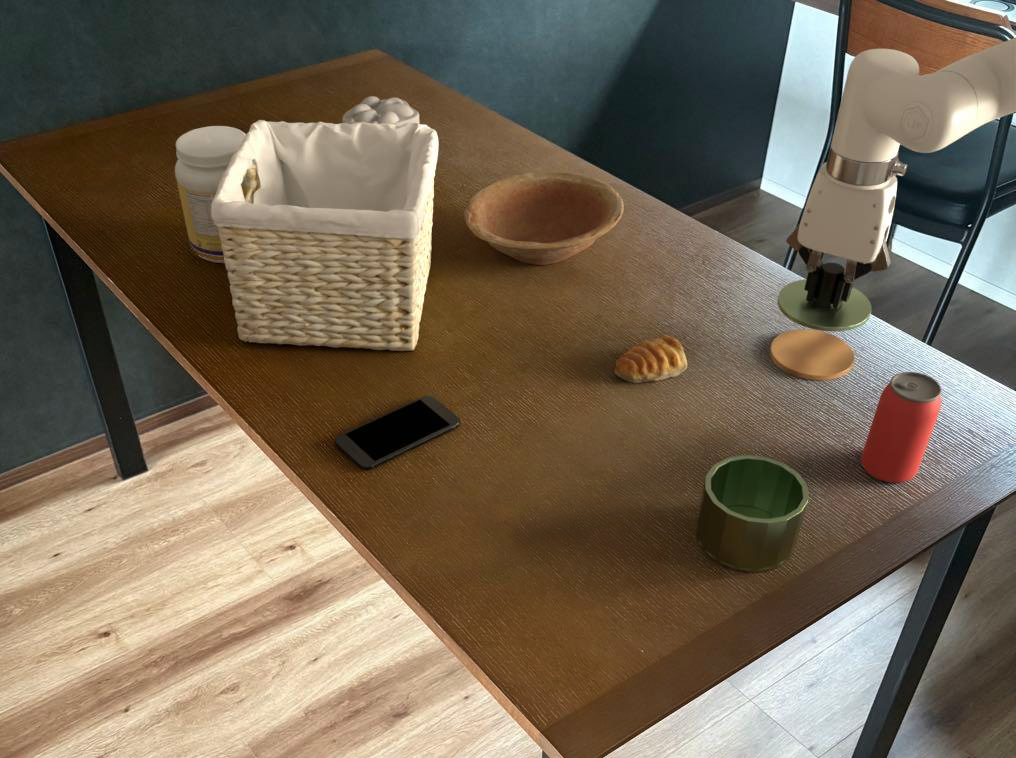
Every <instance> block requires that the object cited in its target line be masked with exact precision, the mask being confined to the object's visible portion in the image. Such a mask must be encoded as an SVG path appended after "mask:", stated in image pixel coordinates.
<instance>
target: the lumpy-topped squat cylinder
mask: <svg viewBox="0 0 1016 758" xmlns="http://www.w3.org/2000/svg"><path fill="white" fill-rule="evenodd" d="M360 122H366V123H373V124H381V123H384V124H393V125H396V126H399V127H400V126H402V125H403V124H406V123H419V124H421V123H420V113H419V111H418V110H416V109H415V108H413V107H412V106H410V105H409V103H408V101H406V100H404V99H400V98H399V97H396V96H395V97H393V96H392V97H389V98H386V99H380V98H379V97H378V96H375V95H371V96H367V97H365V98H364V99H363V100H362V101H361V102H360V103H359V104H355V106H353V107H352V108H350V109H349V110H347V111H346V112H345V113H344V114H343V116H342V119H341V123H347V124H353V123H360Z"/></svg>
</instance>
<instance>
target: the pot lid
mask: <svg viewBox="0 0 1016 758" xmlns="http://www.w3.org/2000/svg"><path fill="white" fill-rule="evenodd" d="M823 264H824V265H823V266H822V269H821V273H820V277H819V281H818V285H817V289H816V293H815V297H814V299H813V300H812V301H806V297H807V293H808V291H806V290H804V289H805V284H806V280H807V278H804V279H799V280H795V281H792V282H789V283H788V284H786V285H785V286H783V287H782V288H781V289H780V291H779V292H778V296H777V300H776V301H777V302H776V303H777V306H778V309H779V310H780V312H781V313H782V314H783V315H784V316H785V317H786V318H788V319H789V320H790V321H792V322H794V323H795V324H797V325H800V326H802V327H805V328H807V329H810V330H817V331H822V332H832V333H833V332H835V333H836V332H847V331H852V330H854V329H857V328H860V327H862V326H863V325H864V324H866V323H867V322H868V321H869V319H870V317H871V314H872V304H871V302H870V300H869V299H868V298H867V296H866V295H865V294H863V292H861V291H860V290H858V288H857V289H856V288H855V287H852V291H851V294H850V297H849V299H848V301H847V302H844V301H843V302H842V304H841V305H840V307H839V308H838V309H834V308H833V307H832V305H833V302H834V298H835V294H836V290H837V286H838V283H839V281H840V279H841V278H842V277H843V275H844V273H845V270H846V268H845V267H844V266H843V265H841V264H840V263H837V262H825V263H823Z"/></svg>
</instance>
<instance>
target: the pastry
mask: <svg viewBox="0 0 1016 758" xmlns="http://www.w3.org/2000/svg"><path fill="white" fill-rule="evenodd" d="M687 368H688V361H687V356H686V354H685V351H684V347H683V345H682V344H681V342H680V341H679V339H677V338H676V337H674V336H669V335H668V334H664V335H662V336H661V335H660V336H659V337H655V338H651V339H647V340H643V341H640V342H638V343H637V344H636V345H635V346H633V347H631V348H630V349H628V351H626V352H625V353H624V354H622V355H621V356H620V357H619V358H618V359H617V360H616V362H615V369H614V374H615V375H617V376H618V377H619V378H621V379H622V380H624V381H626V382H629V383H633V384H635V383H638V384H642V383H653V382H658V381H659V382H660V381H664V380H667V379H669V378H671V377H672V378H675V377H677V376H679V375H680V374H682V373H684V372H685V371H686V370H687Z"/></svg>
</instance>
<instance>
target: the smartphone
mask: <svg viewBox="0 0 1016 758" xmlns="http://www.w3.org/2000/svg"><path fill="white" fill-rule="evenodd" d="M460 426H461V419H460V417H458V416H457V415H456V414H455V413H454V412H453V411H451V410H450V409H449V408H447V406H445V405H444V404H443V403H442V402H441V401H439V400H438V399H436V397H434V396H432V395H423V396H421V397H419V398H416V399H414V400H412V401H410V402H407V403H405V404H403V405H401V406H398V407H397V408H394V409H392V410H390V411H388V412H385V413H383V414H382V415H379V416H377V417H375V418H373V419H370V420H369V421H366V422H364V423H362V424H359V425H357V426H356V427H353V428H351V429H349V430H346V431H344V432H342V433H340V434H338V435H336V437H335V438H334V440H333V442H334V445H335V446H336V447H337V448H338V449H340V451H342V453H344V455H346V456H347V457H348V458H349V459H350V460H351V461H352V462H353V463H355V464H356V466H357V467H359V468H360V469H361V470H363V471H370V470H373V469H375V468H377V467H379V466H381V465H383V464H385V463H387V462H390V461H391V460H393V459H395V458H398V457H400V456H401V455H405V454H406V453H408V452H410V451H412V450H415V449H416V448H419V447H420V446H423V445H425V444H426V443H429V442H431V441H433V440H435V439H437V438H439V437H441V436H444V435H445V434H447V433H449V432H451V431H453V430H455V429H458V427H460Z"/></svg>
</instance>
